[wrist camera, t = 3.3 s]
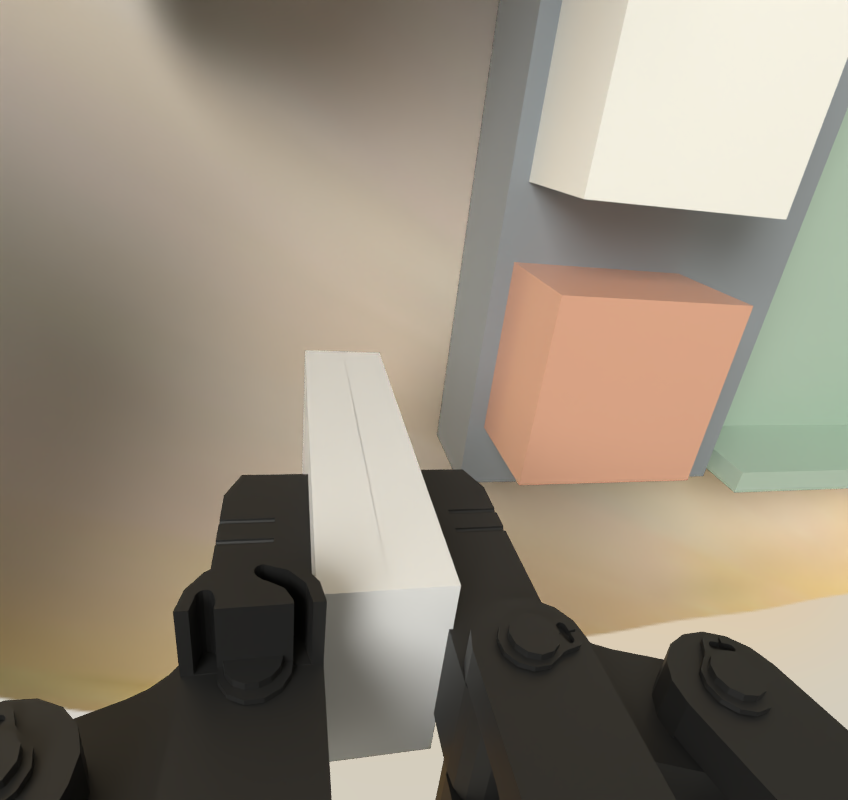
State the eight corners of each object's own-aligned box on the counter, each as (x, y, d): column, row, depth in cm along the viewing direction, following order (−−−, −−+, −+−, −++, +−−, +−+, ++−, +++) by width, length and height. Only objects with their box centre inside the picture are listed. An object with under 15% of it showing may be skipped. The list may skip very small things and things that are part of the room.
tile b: (529, 181, 14) (583, 199, 12) (575, -71, 12) (655, -120, 9) (701, 200, 15) (786, 219, 13) (771, -27, 13) (892, -60, 11)
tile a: (483, 427, 17) (518, 485, 15) (514, 262, 15) (562, 294, 12) (630, 426, 18) (687, 480, 16) (678, 273, 16) (753, 306, 14)
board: (437, 434, 21) (458, 482, 18) (520, -147, 14) (575, -207, 11) (655, 433, 23) (702, 475, 20) (824, -70, 16) (930, -105, 13)
